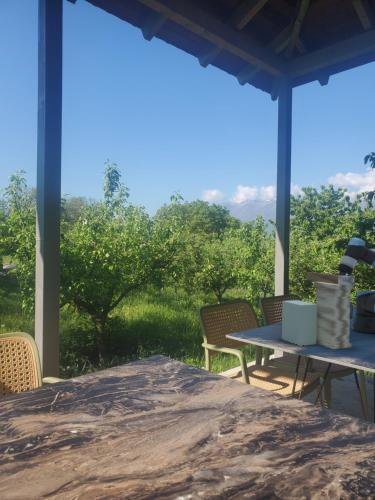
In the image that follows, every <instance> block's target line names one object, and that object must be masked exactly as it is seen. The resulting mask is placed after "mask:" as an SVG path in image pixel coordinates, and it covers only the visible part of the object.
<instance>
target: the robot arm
mask: <svg viewBox="0 0 375 500" xmlns="http://www.w3.org/2000/svg"><path fill="white" fill-rule="evenodd" d="M357 264H363V265H368V266H370V267H373V268H375V248H368V247H367V246H366V241H364V240H363V239H361V238H358V237H351V238H350V240H349V243H348V244H347V247H346V249H345V251H344V253H343V256H341V260H340V263H338V265H337V271H338V272H339V273H338V272H337V273H336V274H335V275H342V276H351V275H352V274H353V271H354V268H355V267H356V265H357ZM355 298H356V299H355V300H356V301H355V304H356V305H355V306H356V307H355V318H354V321H353V324H352V325H351V329H352V331H356V332H357V333H364V334H375V290H358V291H356V295H355Z"/></svg>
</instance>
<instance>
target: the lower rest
mask: <svg viewBox="0 0 375 500" xmlns="http://www.w3.org/2000/svg"><path fill="white" fill-rule="evenodd" d="M316 333H317V304H316V303H312V302H309V301H304V300H297V299H296V300H295V299H294V300H282V312H281V340H282V341H286V342H288V343H290V344H293V343H294V344H293V345H296V344H297V345H296V346H299V347H301V346H302V347H303V345H304V346H312V345H317V344H316Z"/></svg>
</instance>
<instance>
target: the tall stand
mask: <svg viewBox="0 0 375 500" xmlns="http://www.w3.org/2000/svg"><path fill="white" fill-rule="evenodd" d="M313 287H316V294H315V296H316V298H315V299H316V300H315V302H316V303H315V304H317V333H316V344H315V345H320V346H323V347H325V348H328V349H331V350H338V349H347V348H353V343H350V324H351V323H350V322H351V320H350V319H351V318H350V301H351V291H352V290H353V289H355V285H354V286H346V285H339V284H332V283H325V282H318V281H313Z"/></svg>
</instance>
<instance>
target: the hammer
mask: <svg viewBox="0 0 375 500" xmlns="http://www.w3.org/2000/svg"><path fill="white" fill-rule="evenodd" d="M353 315H354V305H353V302H352V301H351V300H350V319H351V318H352V317H353Z"/></svg>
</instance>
